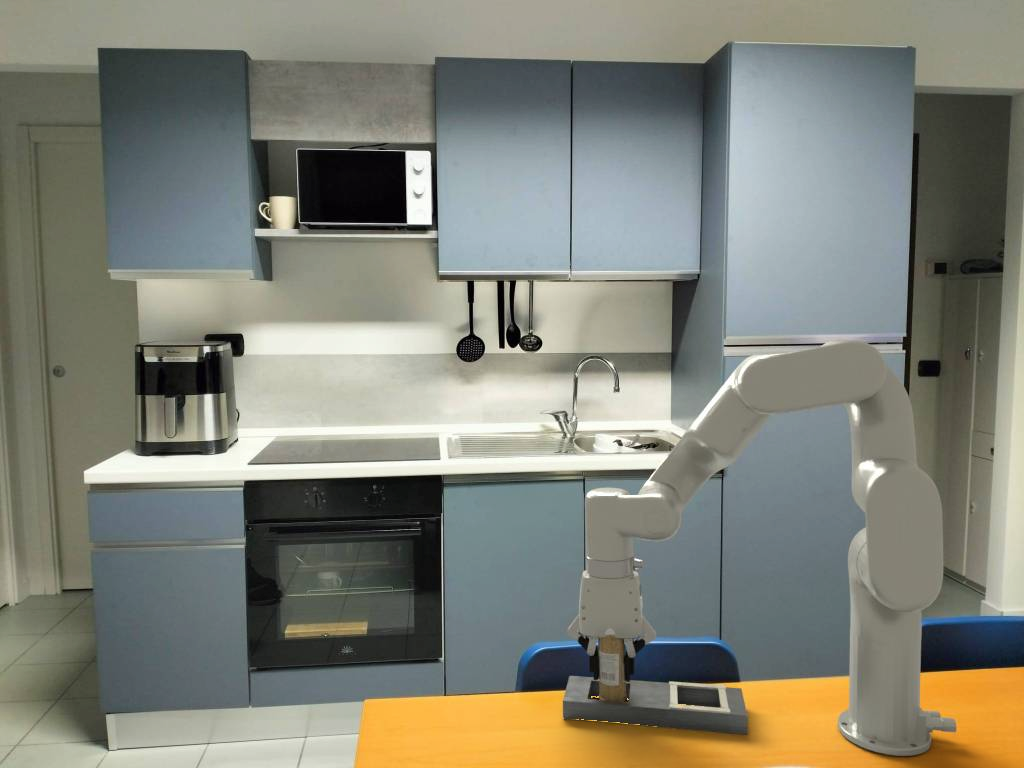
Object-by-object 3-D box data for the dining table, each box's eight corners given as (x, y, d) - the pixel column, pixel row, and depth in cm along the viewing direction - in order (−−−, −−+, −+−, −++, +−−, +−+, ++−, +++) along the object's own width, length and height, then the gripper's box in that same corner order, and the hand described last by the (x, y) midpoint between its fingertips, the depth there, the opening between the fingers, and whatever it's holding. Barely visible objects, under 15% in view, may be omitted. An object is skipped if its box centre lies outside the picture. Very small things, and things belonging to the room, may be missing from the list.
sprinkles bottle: (632, 699, 123) (630, 617, 122) (615, 709, 120) (613, 625, 119) (610, 690, 126) (608, 611, 125) (592, 700, 123) (590, 618, 122)
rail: (741, 706, 124) (741, 686, 123) (747, 734, 115) (747, 713, 114) (569, 692, 129) (569, 673, 129) (563, 719, 120) (562, 698, 120)
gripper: (663, 560, 124) (665, 670, 125) (560, 558, 127) (563, 664, 128) (663, 575, 116) (665, 691, 117) (554, 571, 120) (557, 684, 121)
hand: (612, 676), depth 123 cm, fingers closed on sprinkles bottle, 4 cm apart
